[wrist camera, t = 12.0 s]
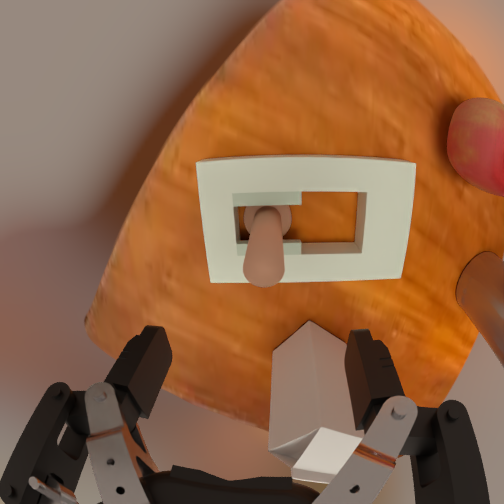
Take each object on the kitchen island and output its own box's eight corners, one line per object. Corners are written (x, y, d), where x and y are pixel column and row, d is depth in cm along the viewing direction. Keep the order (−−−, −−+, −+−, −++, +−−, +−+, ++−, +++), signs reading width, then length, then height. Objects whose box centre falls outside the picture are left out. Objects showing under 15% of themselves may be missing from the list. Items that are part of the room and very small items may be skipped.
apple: (495, 143, 20) (552, 158, 11) (463, 199, 24) (517, 230, 15) (451, 83, 18) (511, 77, 9) (414, 142, 22) (474, 154, 13)
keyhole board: (403, 159, 23) (416, 163, 20) (391, 265, 28) (400, 278, 25) (203, 159, 25) (195, 162, 22) (215, 269, 30) (210, 282, 27)
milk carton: (308, 318, 32) (324, 467, 15) (346, 342, 33) (373, 473, 16) (272, 350, 35) (265, 485, 17) (310, 370, 36) (317, 492, 19)
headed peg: (290, 192, 26) (301, 233, 16) (291, 236, 28) (299, 299, 18) (243, 193, 26) (223, 235, 16) (246, 237, 28) (230, 300, 18)
